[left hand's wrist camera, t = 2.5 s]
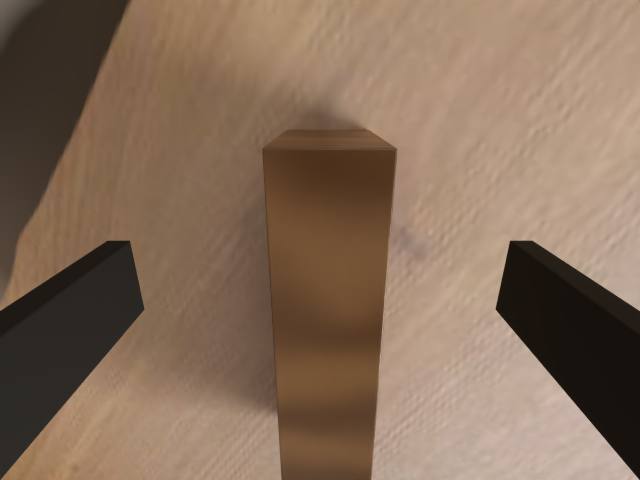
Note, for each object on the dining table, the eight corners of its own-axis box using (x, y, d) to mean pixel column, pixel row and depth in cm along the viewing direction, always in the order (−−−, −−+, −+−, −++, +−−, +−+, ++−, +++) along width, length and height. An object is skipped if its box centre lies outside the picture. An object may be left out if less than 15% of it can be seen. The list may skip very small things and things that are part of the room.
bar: (285, 130, 21) (262, 148, 13) (369, 130, 21) (397, 148, 13) (295, 420, 30) (284, 538, 22) (355, 421, 30) (366, 539, 22)
